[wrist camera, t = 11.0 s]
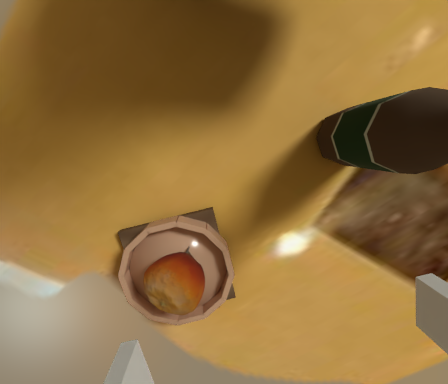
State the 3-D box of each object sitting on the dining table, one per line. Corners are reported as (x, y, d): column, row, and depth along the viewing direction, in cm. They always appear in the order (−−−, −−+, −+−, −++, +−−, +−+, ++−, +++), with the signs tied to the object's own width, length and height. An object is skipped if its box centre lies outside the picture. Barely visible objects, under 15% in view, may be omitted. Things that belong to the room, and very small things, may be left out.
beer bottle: (337, 175, 34) (629, 241, 10) (303, 137, 32) (552, 117, 9) (376, 136, 33) (790, 114, 10) (344, 97, 32) (735, -45, 8)
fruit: (227, 269, 32) (204, 323, 26) (193, 280, 37) (165, 328, 30) (191, 228, 30) (156, 274, 24) (159, 245, 35) (123, 287, 29)
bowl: (111, 231, 32) (103, 238, 30) (217, 205, 32) (218, 210, 30) (144, 322, 35) (140, 335, 33) (240, 297, 36) (243, 308, 33)
